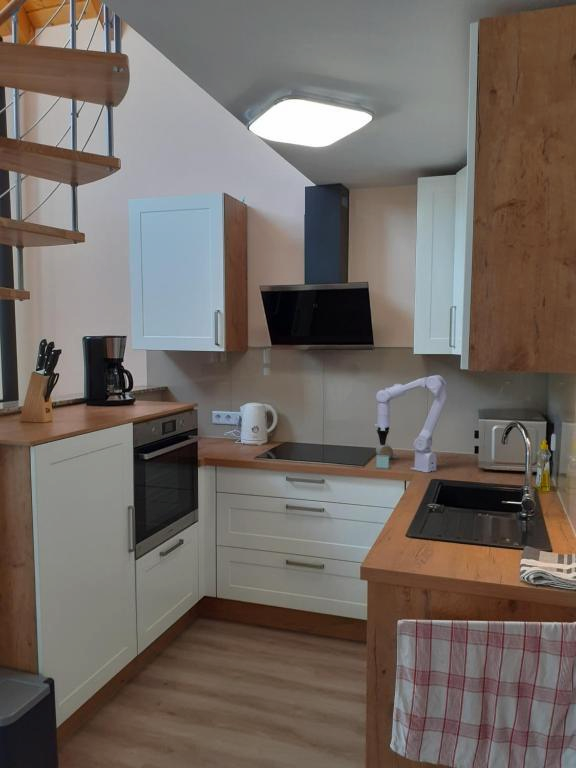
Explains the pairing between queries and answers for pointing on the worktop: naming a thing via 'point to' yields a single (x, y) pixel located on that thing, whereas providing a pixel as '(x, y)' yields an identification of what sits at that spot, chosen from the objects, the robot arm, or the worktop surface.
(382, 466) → the tile
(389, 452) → the ceramic mug
